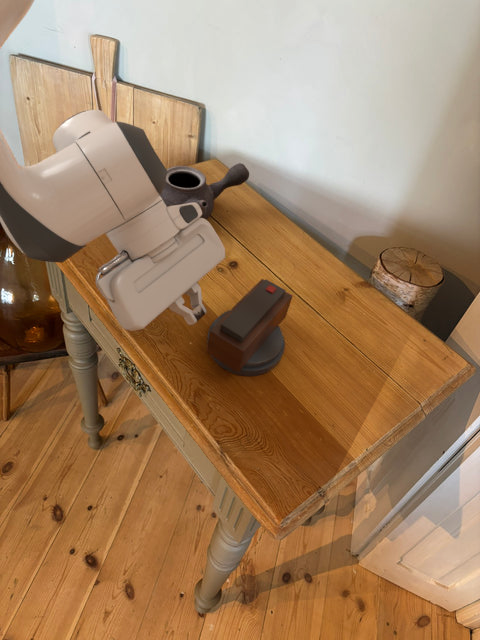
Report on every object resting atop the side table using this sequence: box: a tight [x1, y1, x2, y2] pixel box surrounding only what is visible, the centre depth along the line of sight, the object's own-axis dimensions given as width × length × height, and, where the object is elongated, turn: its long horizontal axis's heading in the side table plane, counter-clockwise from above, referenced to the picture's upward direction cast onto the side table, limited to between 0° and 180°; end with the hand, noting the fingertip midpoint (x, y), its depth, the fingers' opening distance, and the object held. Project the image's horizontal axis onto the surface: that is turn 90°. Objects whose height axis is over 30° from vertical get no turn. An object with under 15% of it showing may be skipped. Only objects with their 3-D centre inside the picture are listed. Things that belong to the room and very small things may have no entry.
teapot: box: [161, 162, 250, 220], centre depth 90 cm, size 19×15×10 cm
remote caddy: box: [206, 278, 293, 372], centre depth 68 cm, size 14×11×7 cm
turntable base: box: [206, 319, 286, 377], centre depth 72 cm, size 12×12×2 cm
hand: (198, 319), depth 67 cm, fingers closed
